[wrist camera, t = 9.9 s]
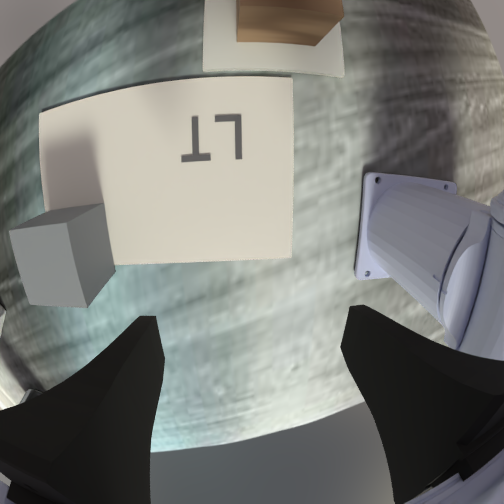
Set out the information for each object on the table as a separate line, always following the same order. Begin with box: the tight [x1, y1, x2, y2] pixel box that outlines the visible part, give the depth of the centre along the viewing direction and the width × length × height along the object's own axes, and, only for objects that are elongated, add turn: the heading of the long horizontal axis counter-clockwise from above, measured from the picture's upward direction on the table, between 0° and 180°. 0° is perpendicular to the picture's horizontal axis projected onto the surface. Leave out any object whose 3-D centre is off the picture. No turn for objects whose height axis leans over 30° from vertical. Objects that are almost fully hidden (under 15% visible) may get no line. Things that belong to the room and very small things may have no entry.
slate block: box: [9, 203, 116, 308], centre depth 15 cm, size 5×5×5 cm
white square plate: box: [203, 0, 345, 78], centre depth 13 cm, size 9×9×1 cm
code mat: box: [39, 76, 294, 265], centre depth 16 cm, size 18×12×1 cm, turn 91°
